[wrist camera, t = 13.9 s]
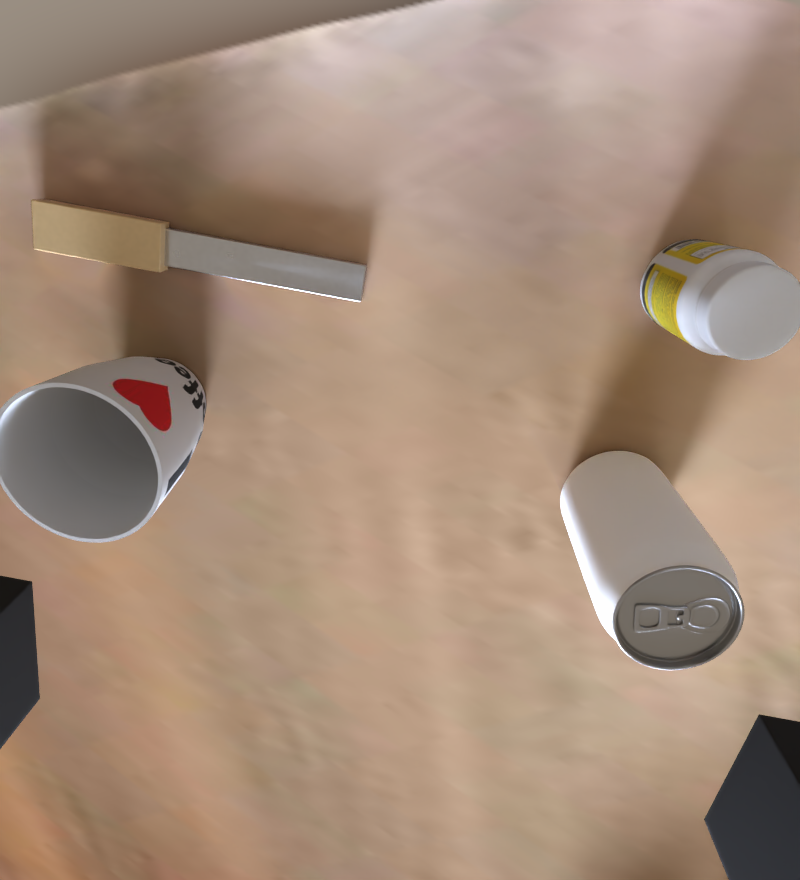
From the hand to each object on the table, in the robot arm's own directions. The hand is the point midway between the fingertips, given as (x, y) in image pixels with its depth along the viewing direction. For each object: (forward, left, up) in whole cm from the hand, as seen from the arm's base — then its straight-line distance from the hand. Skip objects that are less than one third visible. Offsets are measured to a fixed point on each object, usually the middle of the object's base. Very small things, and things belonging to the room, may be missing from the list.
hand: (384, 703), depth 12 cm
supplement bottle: (-13, -6, -27) cm, 30 cm away
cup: (+15, +6, -27) cm, 31 cm away
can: (-13, +7, -27) cm, 31 cm away
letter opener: (+13, -3, -27) cm, 30 cm away
